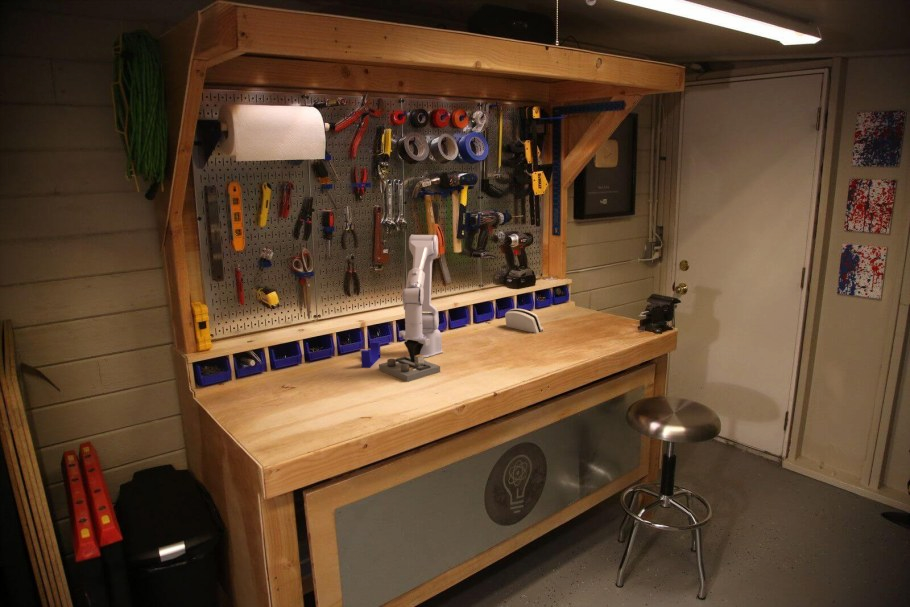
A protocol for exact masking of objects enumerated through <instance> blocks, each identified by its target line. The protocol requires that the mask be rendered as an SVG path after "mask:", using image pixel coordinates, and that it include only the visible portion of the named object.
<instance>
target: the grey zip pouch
mask: <svg viewBox="0 0 910 607" xmlns="http://www.w3.org/2000/svg"><path fill="white" fill-rule="evenodd" d="M504 316H505V317H504V318H505V324H506V325H505V326H506V327H507V328H511V329H516V330H521V331H525V332H529V333H534V334H539V333H540V332H541V331H542V332H544V326H542V325H541V322H540V319H539V316H538V314H536V313H534V312H533V311H529V310H527V309H523V308H512V309H509V310H507V311H506V312H505V314H504Z"/></svg>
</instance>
